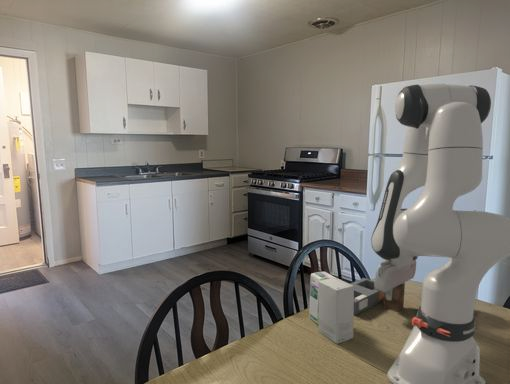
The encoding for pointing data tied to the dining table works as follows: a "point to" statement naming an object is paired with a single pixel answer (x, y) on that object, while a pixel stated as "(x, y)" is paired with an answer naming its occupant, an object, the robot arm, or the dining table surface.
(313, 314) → the syrup box
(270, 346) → the dining table surface
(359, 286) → the socket block
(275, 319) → the dining table surface
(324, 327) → the skincare box
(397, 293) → the walnut plug
